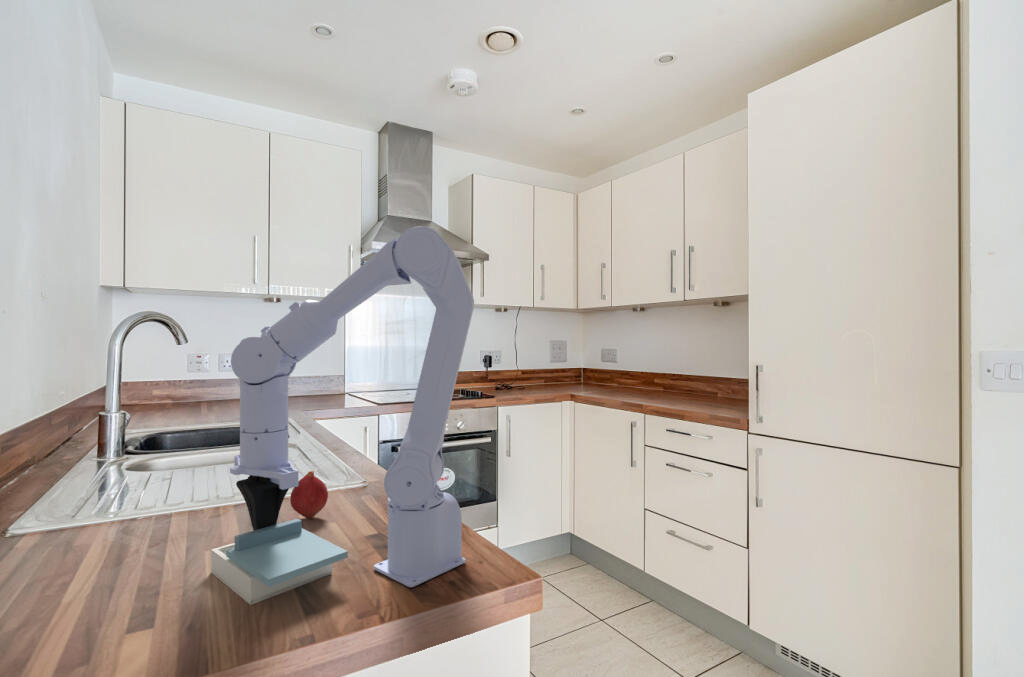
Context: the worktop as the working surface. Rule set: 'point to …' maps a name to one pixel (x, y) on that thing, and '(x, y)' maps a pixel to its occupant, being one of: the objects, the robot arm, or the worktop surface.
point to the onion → (309, 496)
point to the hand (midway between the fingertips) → (264, 532)
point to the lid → (283, 552)
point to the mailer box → (249, 584)
